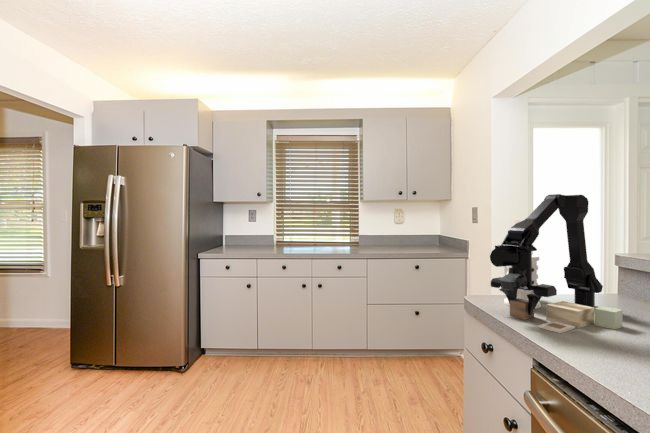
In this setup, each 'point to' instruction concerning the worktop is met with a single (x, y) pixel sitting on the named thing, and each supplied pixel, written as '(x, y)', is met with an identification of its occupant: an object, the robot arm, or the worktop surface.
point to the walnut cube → (520, 308)
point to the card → (556, 327)
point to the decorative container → (523, 293)
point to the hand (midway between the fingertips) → (521, 312)
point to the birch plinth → (570, 314)
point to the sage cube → (608, 317)
